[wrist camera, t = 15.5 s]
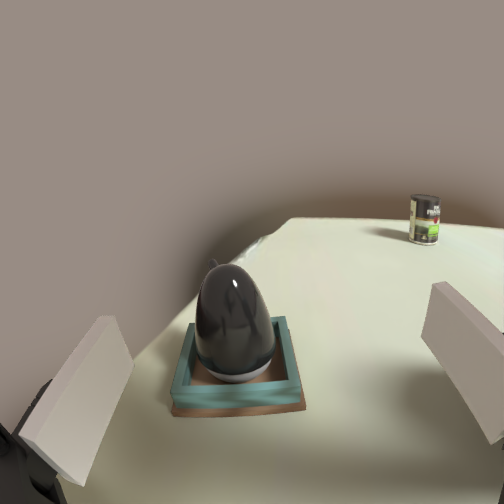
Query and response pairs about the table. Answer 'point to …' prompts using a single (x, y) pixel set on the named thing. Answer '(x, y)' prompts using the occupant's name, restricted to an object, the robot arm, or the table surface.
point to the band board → (238, 394)
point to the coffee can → (424, 219)
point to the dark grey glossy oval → (232, 325)
